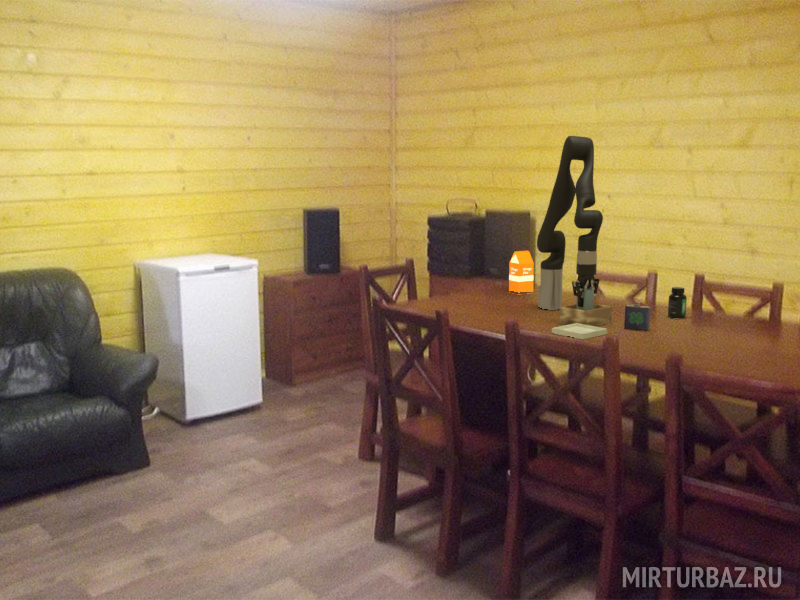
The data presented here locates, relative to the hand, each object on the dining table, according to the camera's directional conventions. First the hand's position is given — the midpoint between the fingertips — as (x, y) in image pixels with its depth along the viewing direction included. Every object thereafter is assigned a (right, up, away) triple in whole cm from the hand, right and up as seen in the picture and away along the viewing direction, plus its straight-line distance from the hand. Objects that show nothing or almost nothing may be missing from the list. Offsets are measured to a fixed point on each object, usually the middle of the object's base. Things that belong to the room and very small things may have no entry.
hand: (584, 305), depth 316 cm
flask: (+17, -9, -11) cm, 22 cm away
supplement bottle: (+39, -5, +11) cm, 41 cm away
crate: (0, -7, +1) cm, 7 cm away
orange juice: (-14, +6, +76) cm, 77 cm away
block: (0, -1, 0) cm, 1 cm away
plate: (-6, -10, -18) cm, 21 cm away
